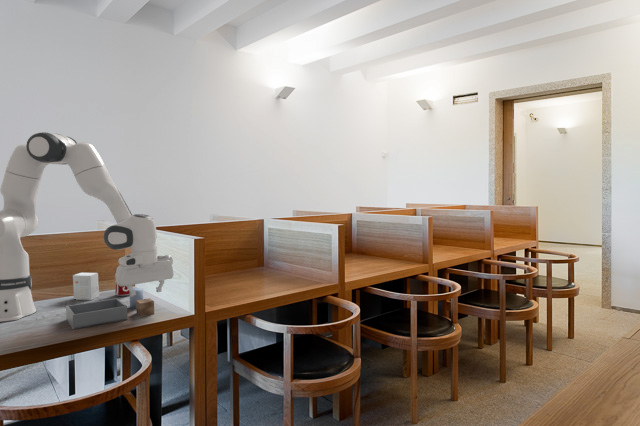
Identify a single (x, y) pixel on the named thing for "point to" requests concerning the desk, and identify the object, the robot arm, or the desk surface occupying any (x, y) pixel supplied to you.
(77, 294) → the small box
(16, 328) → the desk surface
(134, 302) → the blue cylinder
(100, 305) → the tote
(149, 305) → the walnut cube
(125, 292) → the soda can
